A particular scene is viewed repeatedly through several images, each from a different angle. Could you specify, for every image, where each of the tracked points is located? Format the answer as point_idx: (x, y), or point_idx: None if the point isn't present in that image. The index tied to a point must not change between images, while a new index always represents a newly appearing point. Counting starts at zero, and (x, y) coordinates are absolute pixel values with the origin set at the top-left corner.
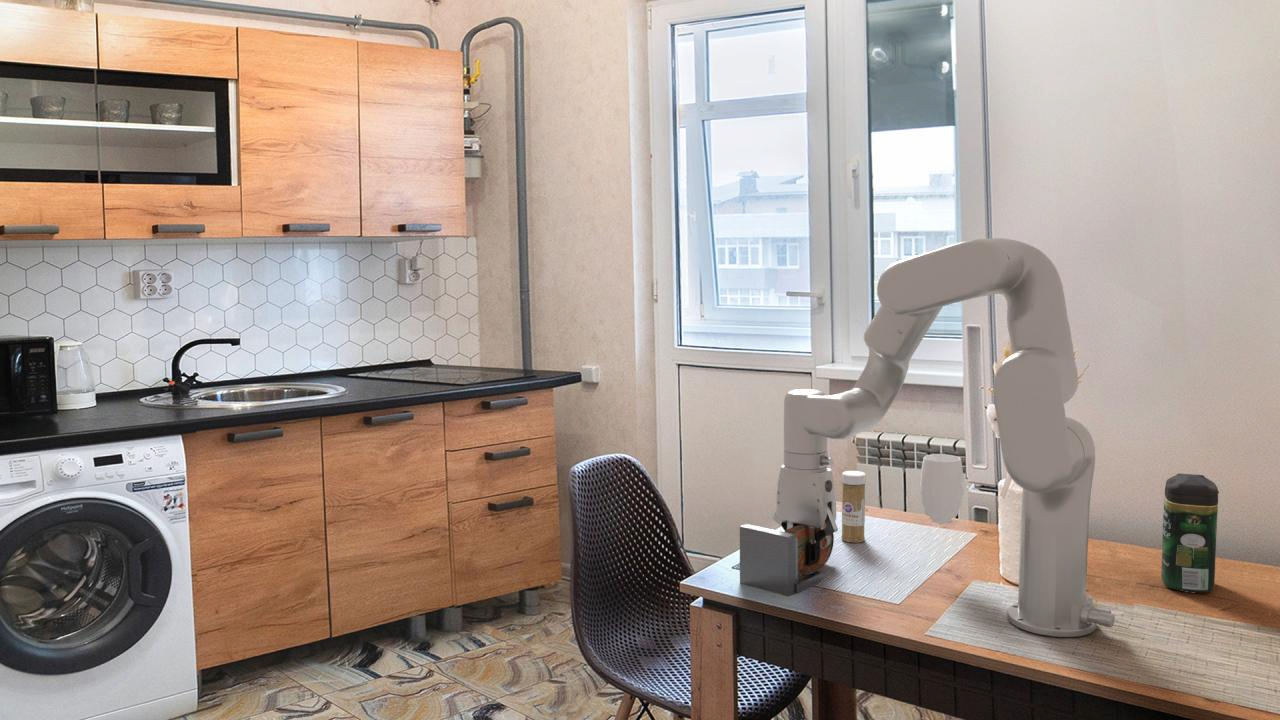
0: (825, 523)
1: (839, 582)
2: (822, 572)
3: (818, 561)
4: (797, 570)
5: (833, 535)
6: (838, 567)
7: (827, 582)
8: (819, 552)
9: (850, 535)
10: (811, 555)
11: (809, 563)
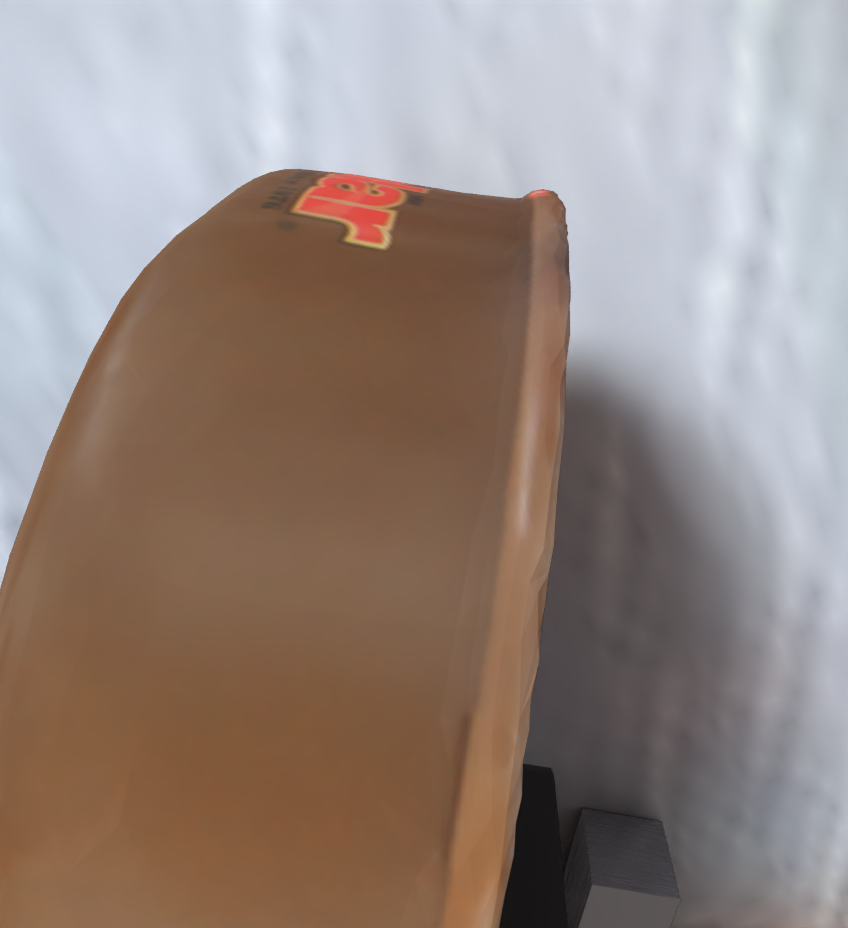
0: (440, 762)
1: (830, 792)
2: (675, 900)
3: None
4: None
5: (563, 218)
6: (678, 368)
7: (715, 832)
8: (555, 837)
9: None
10: None
11: None
